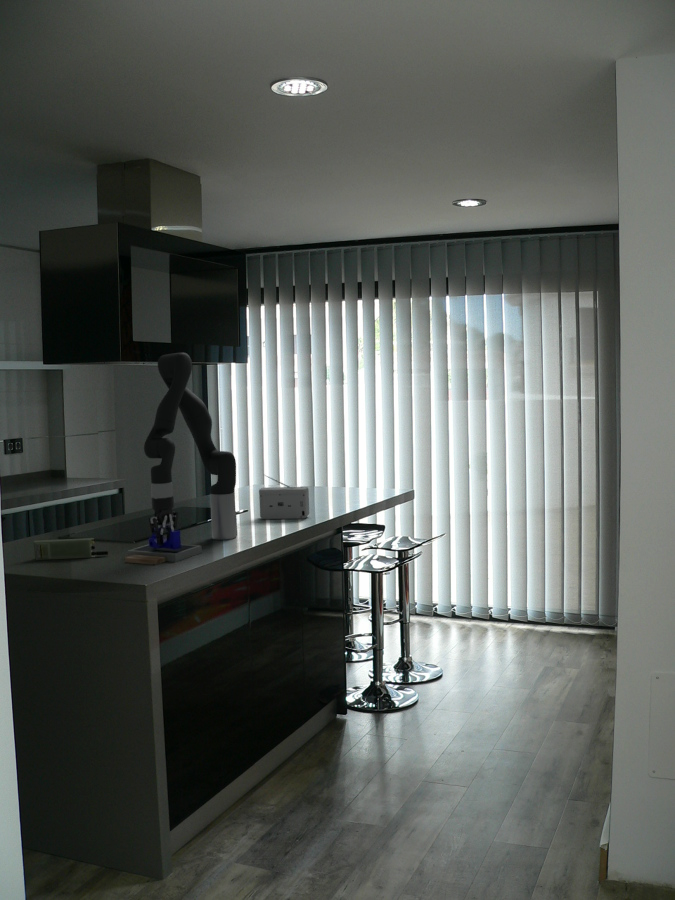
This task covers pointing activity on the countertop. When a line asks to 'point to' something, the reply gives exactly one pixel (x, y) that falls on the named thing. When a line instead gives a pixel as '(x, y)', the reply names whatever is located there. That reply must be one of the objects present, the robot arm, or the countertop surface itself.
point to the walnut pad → (145, 559)
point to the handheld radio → (65, 549)
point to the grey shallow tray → (182, 553)
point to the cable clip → (171, 544)
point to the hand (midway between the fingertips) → (165, 543)
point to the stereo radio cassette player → (284, 502)
